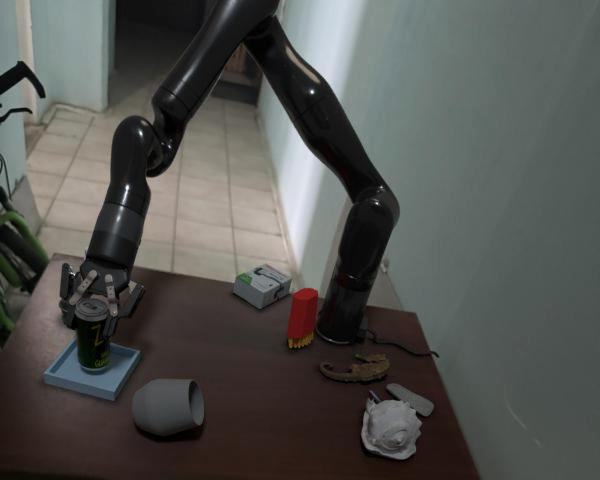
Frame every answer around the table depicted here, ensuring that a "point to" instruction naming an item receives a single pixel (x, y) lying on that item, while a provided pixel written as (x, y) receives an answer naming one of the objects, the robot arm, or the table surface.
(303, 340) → the french fries
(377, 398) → the pen
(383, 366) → the seahorse
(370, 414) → the seashell
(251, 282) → the ink box
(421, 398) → the decorative stone
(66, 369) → the tray
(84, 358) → the beer can
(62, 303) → the grey chess piece
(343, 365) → the table surface
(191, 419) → the cup
